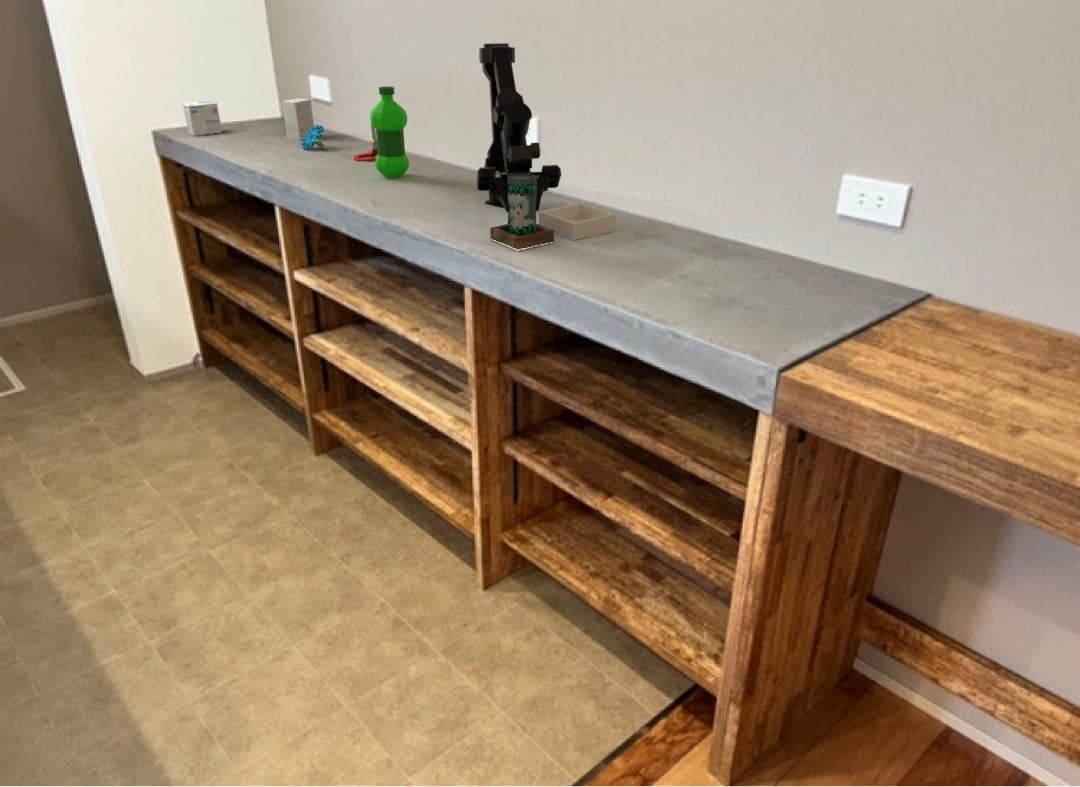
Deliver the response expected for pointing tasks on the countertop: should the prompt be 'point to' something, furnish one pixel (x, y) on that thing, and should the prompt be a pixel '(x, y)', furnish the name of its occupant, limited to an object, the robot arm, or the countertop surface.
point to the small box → (297, 118)
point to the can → (521, 203)
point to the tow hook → (370, 153)
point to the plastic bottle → (390, 135)
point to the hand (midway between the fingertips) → (522, 210)
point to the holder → (524, 241)
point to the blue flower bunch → (313, 138)
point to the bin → (578, 221)
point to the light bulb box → (202, 118)
